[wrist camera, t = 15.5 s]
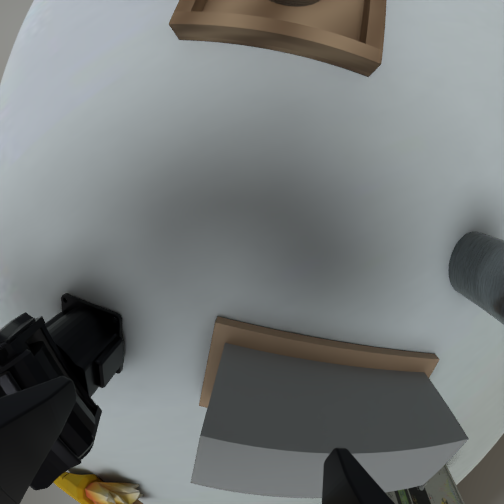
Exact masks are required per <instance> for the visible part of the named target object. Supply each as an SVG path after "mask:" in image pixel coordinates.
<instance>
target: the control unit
mask: <svg viewBox="0 0 504 504" xmlns="http://www.w3.org/2000/svg"><path fill="white" fill-rule="evenodd" d="M438 361H439V358H438V357H437V356H436V355H435V354H431V353H421V352H411V351H402V350H394V349H386V348H378V347H371V346H364V345H357V344H351V343H345V342H339V341H333V340H327V339H321V338H316V337H310V336H305V335H300V334H295V333H290V332H285V331H280V330H275V329H270V328H266V327H261V326H257V325H252V324H248V323H244V322H239V321H235V320H231V319H227V318H223V317H219V316H217V319H216V322H215V326H214V331H213V336H212V341H211V346H210V351H209V356H208V361H207V366H206V371H205V377H204V382H203V387H202V392H201V398H200V403H199V406H202V407H206V408H207V412H206V416H205V420H204V423H203V427H202V431H201V435H200V439H199V444H198V449H197V454H196V459H195V464H194V469H193V474H192V479H191V483H193V484H197V485H202V486H206V487H211V488H216V489H221V490H226V491H232V492H239V493H246V494H254V495H263V496H274V497H290V498H322V488H323V468H324V462H325V460H326V458H327V457H328V456H329V454H330V453H331V452H332V450H333V449H334V448H347V449H348V450H349V451H350V453H351V454H352V455H353V456H354V457H355V458H356V460H357V461H358V462H359V463H360V464H361V466H362V467H363V468H364V469H365V470H366V471H367V472H368V474H369V475H370V476H371V477H372V478H373V479H374V480H375V482H376V483H377V484H378V485H379V486H380V487H381V488H382V489H383V491H384V492H392V491H397V490H403V489H408V488H412V487H417V486H421V485H424V484H425V483H426V482H427V481H428V480H429V479H430V478H431V477H433V476H434V475H435V474H436V473H437V472H438V471H439V470H440V469H441V468H442V467H443V466H444V465H445V464H446V463H447V462H448V461H449V460H450V459H451V458H452V457H453V456H454V455H455V454H456V453H457V451H458V450H459V449H460V448H461V447H462V446H463V445H464V444H465V443H466V441H467V440H468V437H467V435H466V434H465V432H464V430H463V429H462V427H461V426H460V424H459V423H458V421H457V419H456V418H455V416H454V415H453V413H452V412H451V410H450V409H449V407H448V406H447V404H446V403H445V401H444V400H443V398H442V397H441V395H440V394H439V392H438V391H437V389H436V388H435V387H434V385H433V384H432V382H431V381H430V379H429V377H430V375H431V373H432V372H433V370H434V368H435V367H436V365H437V363H438Z"/></svg>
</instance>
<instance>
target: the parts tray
mask: <svg viewBox="0 0 504 504" xmlns="http://www.w3.org/2000/svg"><path fill="white" fill-rule="evenodd" d="M385 16H386V0H320V1H319V2H317V3H315V4H312V5H308V6H297V7H295V6H285V5H281V4H277V3H274V2H272V1H270V0H179V2H178V5H177V7H176V9H175V11H174V13H173V15H172V18H171V20H170V22H169V25H170V27H171V28H172V30H173V31H174V33H175V34H176V36H177V37H178V38H179V40H197V41H212V42H223V43H232V44H240V45H247V46H254V47H260V48H266V49H271V50H276V51H281V52H286V53H290V54H295V55H299V56H303V57H307V58H311V59H315V60H318V61H322V62H325V63H329V64H332V65H335V66H339V67H342V68H345V69H348V70H351V71H354V72H356V73H359V74H362V75H365V76H367V77H369V76H370V75H371V74H372V73H373V72H374V71H375V70H376V69H377V68H378V67H379V66H380V65H381V61H382V52H383V42H384V30H385Z"/></svg>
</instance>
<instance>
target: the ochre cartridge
mask: <svg viewBox="0 0 504 504" xmlns="http://www.w3.org/2000/svg"><path fill="white" fill-rule="evenodd" d="M270 1H272V2H274V3H277V4H281V5H285V6H295V7H297V6H308V5H312V4H315V3H317V2H319V1H320V0H270Z"/></svg>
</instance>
